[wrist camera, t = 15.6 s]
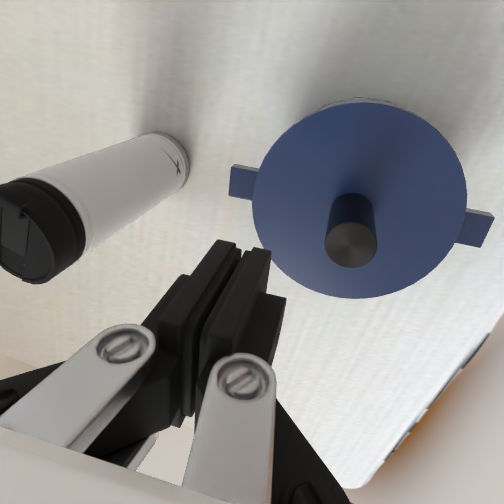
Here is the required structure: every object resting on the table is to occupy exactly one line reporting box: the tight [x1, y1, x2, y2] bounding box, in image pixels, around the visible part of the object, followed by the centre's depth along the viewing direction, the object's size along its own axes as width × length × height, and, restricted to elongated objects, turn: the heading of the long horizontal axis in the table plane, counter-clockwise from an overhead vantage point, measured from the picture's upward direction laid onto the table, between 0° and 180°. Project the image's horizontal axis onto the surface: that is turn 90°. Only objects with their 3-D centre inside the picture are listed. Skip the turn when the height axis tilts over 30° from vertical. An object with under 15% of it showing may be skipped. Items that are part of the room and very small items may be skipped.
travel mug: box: [0, 132, 189, 284], centre depth 29 cm, size 6×7×20 cm
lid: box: [252, 102, 467, 299], centre depth 24 cm, size 15×15×7 cm
